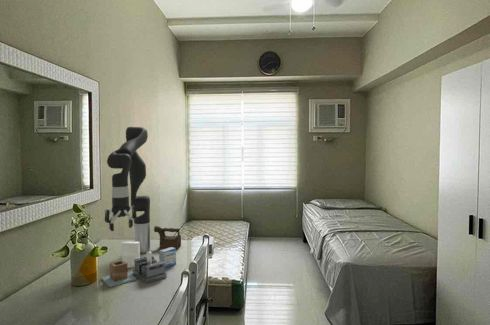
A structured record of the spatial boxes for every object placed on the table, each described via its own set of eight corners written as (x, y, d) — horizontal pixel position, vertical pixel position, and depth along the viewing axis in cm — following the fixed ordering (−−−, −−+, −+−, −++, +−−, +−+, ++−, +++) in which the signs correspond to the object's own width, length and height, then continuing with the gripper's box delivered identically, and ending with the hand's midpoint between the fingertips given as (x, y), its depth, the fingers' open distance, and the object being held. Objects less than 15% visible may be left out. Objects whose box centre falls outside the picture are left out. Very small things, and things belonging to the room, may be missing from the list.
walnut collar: (110, 277, 150) (109, 263, 150) (122, 274, 154) (122, 260, 154) (114, 281, 146) (114, 266, 145) (127, 277, 150) (127, 263, 149)
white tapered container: (143, 261, 173) (142, 240, 173) (135, 268, 164) (135, 245, 164) (127, 261, 174) (126, 239, 173) (119, 267, 165) (118, 244, 165)
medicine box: (164, 268, 163) (164, 252, 163) (159, 266, 166) (158, 250, 166) (176, 264, 170) (176, 248, 169) (170, 262, 172) (170, 246, 172)
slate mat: (101, 279, 151) (101, 277, 150) (126, 272, 158) (126, 270, 158) (110, 287, 142) (110, 285, 141) (136, 279, 149) (136, 278, 149)
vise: (132, 273, 158) (132, 250, 157) (151, 267, 164) (151, 246, 164) (146, 283, 146) (146, 258, 145) (166, 277, 152) (166, 253, 152)
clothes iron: (158, 245, 203) (157, 224, 202) (182, 245, 201) (181, 225, 200) (152, 249, 195) (152, 227, 194) (177, 250, 193) (177, 228, 192)
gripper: (132, 193, 158) (132, 225, 159) (102, 196, 149) (103, 230, 150) (138, 195, 152) (139, 228, 154) (107, 198, 143) (108, 233, 144)
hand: (121, 229), depth 152 cm, fingers open, 8 cm apart
